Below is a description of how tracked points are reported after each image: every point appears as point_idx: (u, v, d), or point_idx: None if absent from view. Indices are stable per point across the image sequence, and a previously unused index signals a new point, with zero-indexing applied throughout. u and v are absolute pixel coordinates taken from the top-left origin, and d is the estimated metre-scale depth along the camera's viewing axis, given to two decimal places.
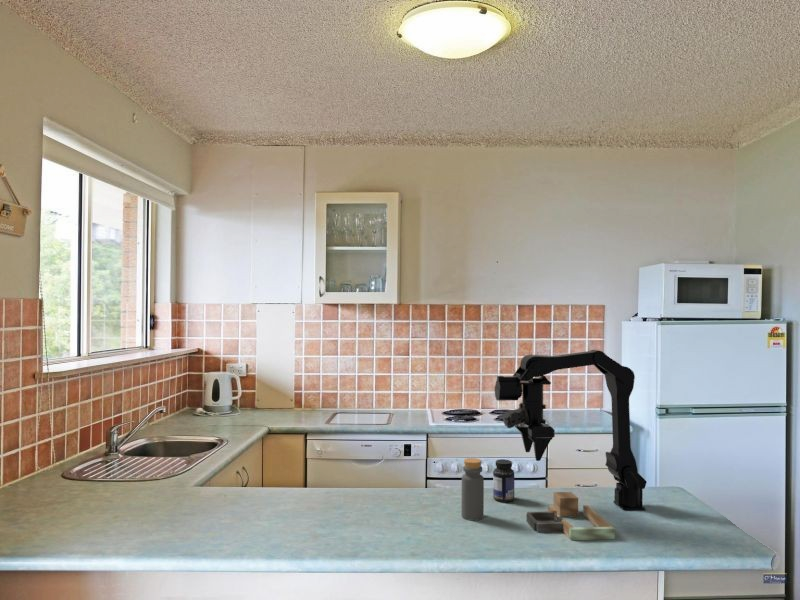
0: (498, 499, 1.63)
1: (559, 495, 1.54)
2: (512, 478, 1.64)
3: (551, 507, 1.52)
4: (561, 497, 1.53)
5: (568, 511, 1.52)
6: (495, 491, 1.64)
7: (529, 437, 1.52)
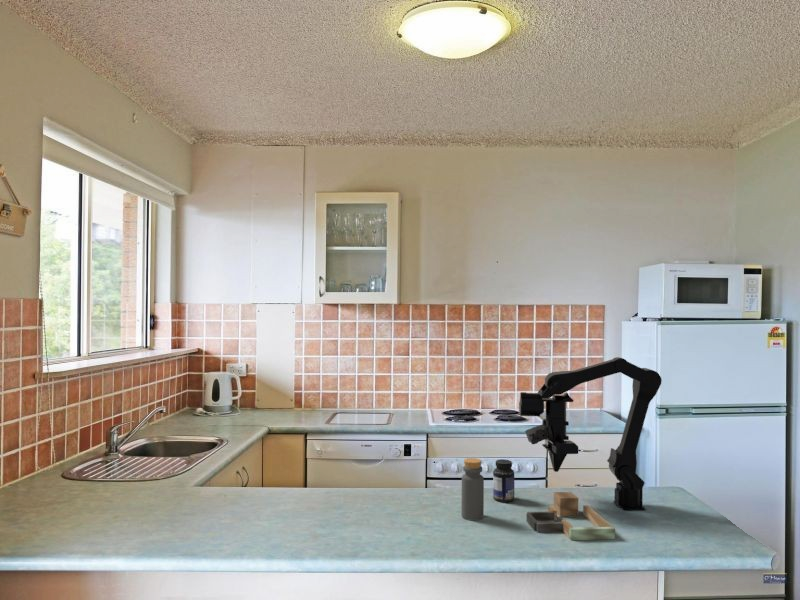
0: (498, 499, 1.63)
1: (559, 495, 1.54)
2: (512, 478, 1.64)
3: (551, 507, 1.52)
4: (561, 497, 1.53)
5: (568, 511, 1.52)
6: (495, 491, 1.64)
7: (548, 449, 1.61)
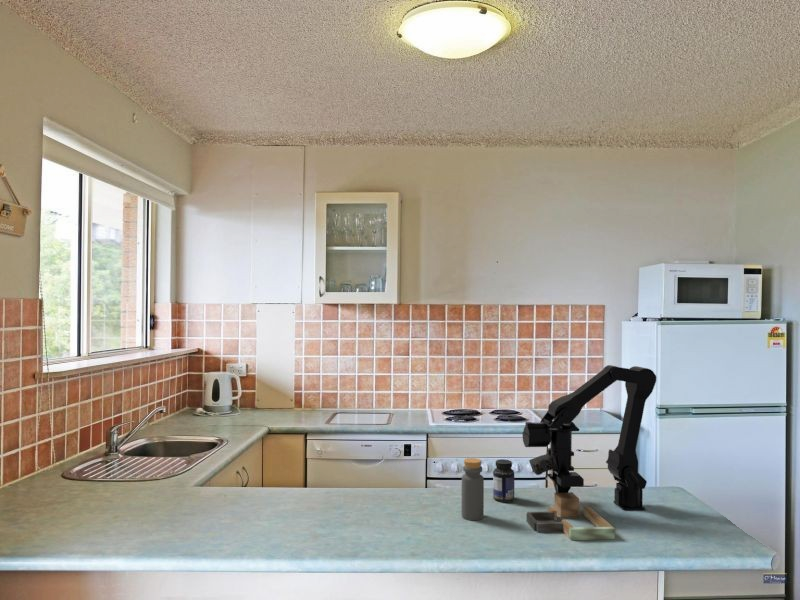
0: (498, 499, 1.63)
1: (560, 496, 1.54)
2: (512, 478, 1.64)
3: (551, 507, 1.52)
4: (562, 497, 1.52)
5: (569, 511, 1.52)
6: (495, 491, 1.64)
7: (552, 480, 1.57)
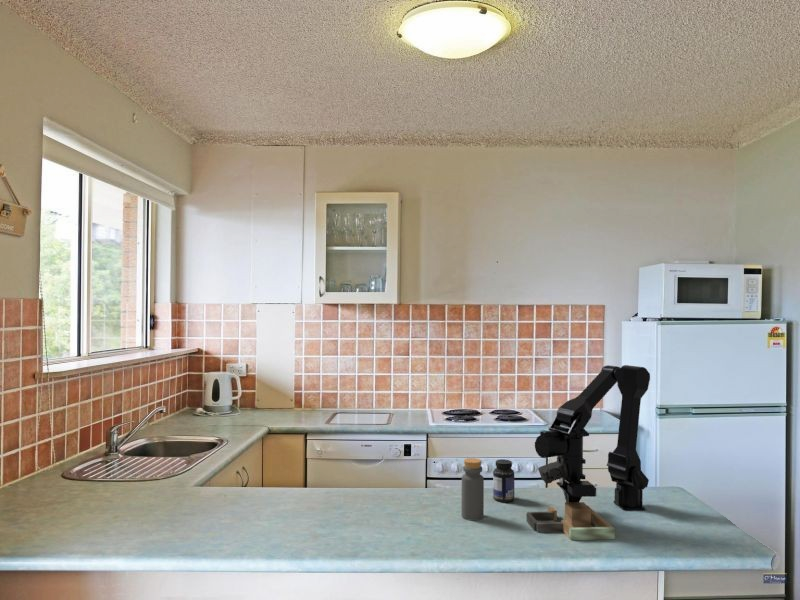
0: (498, 499, 1.63)
1: (571, 506, 1.46)
2: (512, 478, 1.64)
3: (551, 507, 1.52)
4: (573, 508, 1.44)
5: (580, 522, 1.44)
6: (495, 491, 1.64)
7: (563, 489, 1.49)
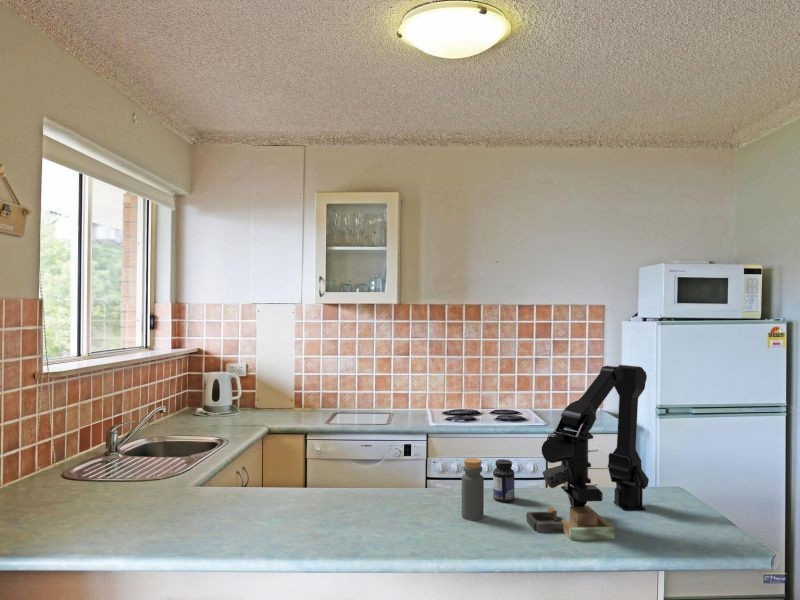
0: (498, 499, 1.63)
1: (577, 510, 1.43)
2: (512, 478, 1.64)
3: (551, 507, 1.52)
4: (578, 513, 1.41)
5: None
6: (495, 491, 1.64)
7: (568, 493, 1.46)
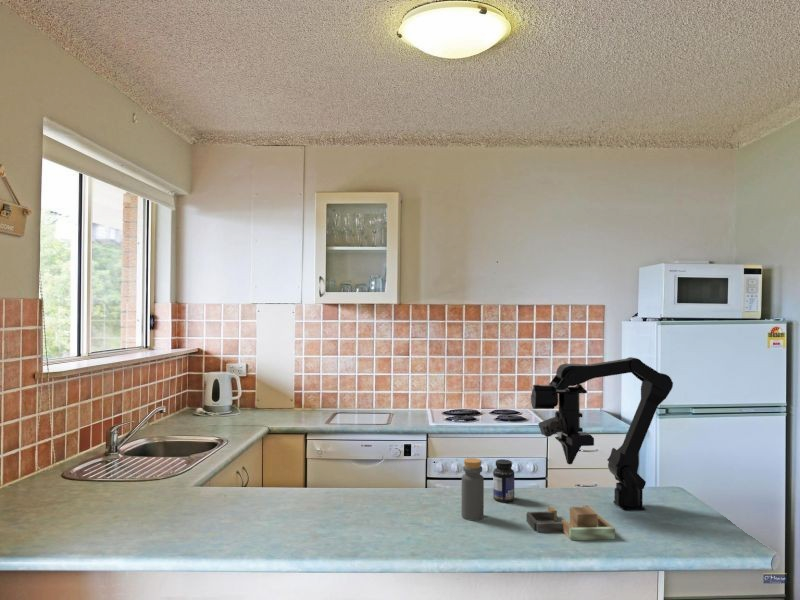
0: (498, 499, 1.63)
1: (577, 511, 1.43)
2: (512, 478, 1.64)
3: (551, 507, 1.52)
4: (578, 513, 1.41)
5: None
6: (495, 491, 1.64)
7: (562, 442, 1.59)
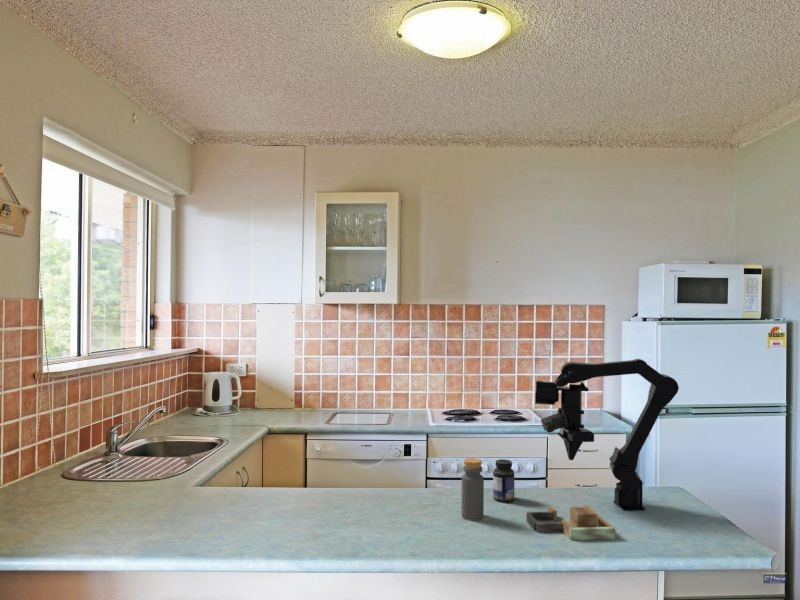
0: (498, 499, 1.63)
1: (577, 511, 1.43)
2: (512, 478, 1.64)
3: (551, 507, 1.52)
4: (578, 513, 1.41)
5: None
6: (495, 491, 1.64)
7: (563, 438, 1.62)
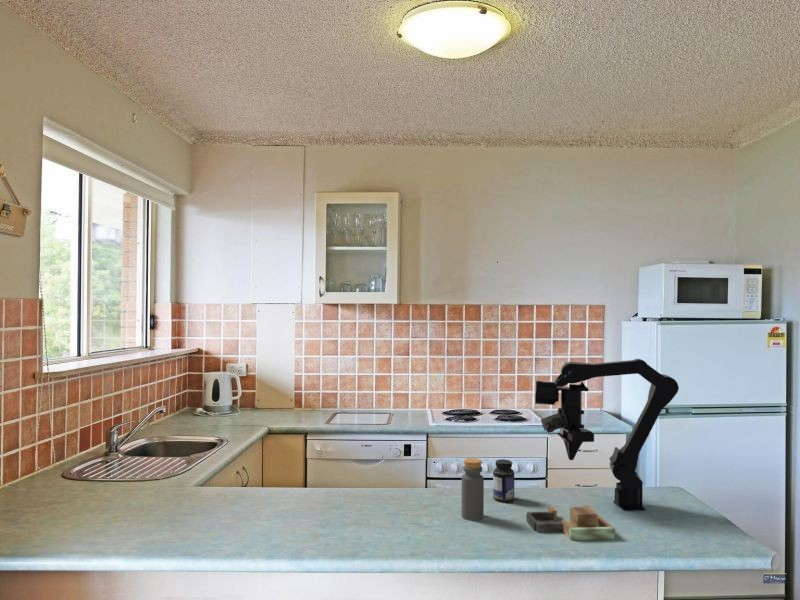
0: (498, 499, 1.63)
1: (577, 511, 1.43)
2: (512, 478, 1.64)
3: (551, 507, 1.52)
4: (578, 513, 1.41)
5: None
6: (495, 491, 1.64)
7: (563, 438, 1.62)
